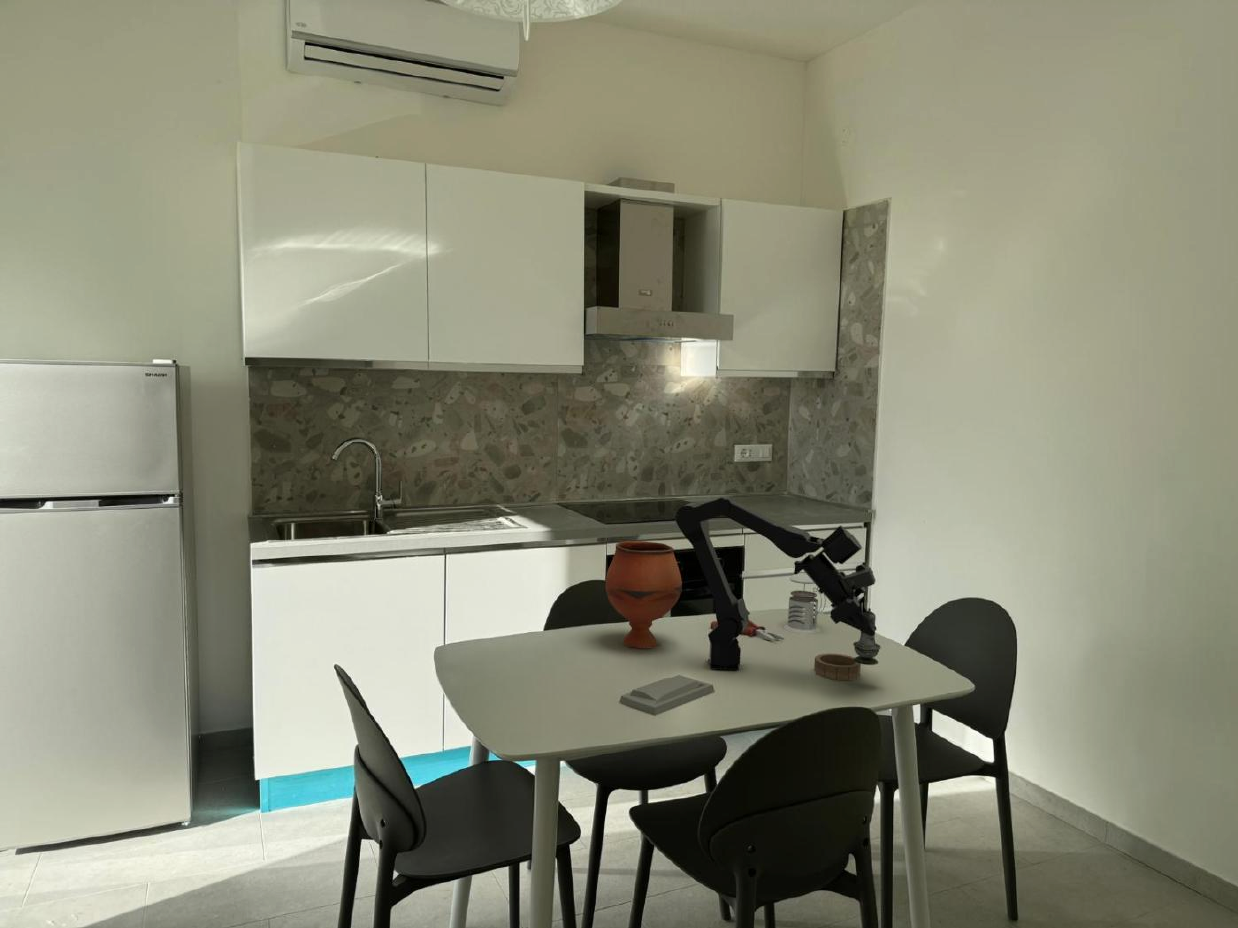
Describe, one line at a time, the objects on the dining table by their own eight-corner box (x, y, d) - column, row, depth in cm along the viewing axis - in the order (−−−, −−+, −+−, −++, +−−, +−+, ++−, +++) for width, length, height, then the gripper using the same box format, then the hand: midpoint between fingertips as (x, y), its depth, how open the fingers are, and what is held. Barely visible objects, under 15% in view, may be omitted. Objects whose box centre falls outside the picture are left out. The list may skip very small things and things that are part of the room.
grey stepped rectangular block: (715, 694, 191) (716, 678, 191) (656, 718, 176) (656, 701, 176) (677, 682, 198) (678, 667, 197) (617, 705, 183) (617, 688, 183)
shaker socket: (819, 679, 202) (820, 666, 202) (810, 665, 212) (811, 652, 212) (864, 680, 202) (865, 667, 202) (853, 666, 212) (853, 654, 212)
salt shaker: (846, 660, 197) (850, 606, 196) (860, 655, 202) (864, 602, 200) (870, 667, 193) (874, 612, 192) (884, 661, 197) (888, 608, 196)
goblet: (669, 659, 213) (674, 555, 211) (592, 649, 218) (596, 548, 216) (686, 637, 231) (690, 542, 229) (614, 629, 236) (618, 536, 234)
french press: (799, 621, 251) (804, 533, 249) (833, 631, 242) (838, 540, 240) (776, 627, 245) (780, 536, 243) (810, 637, 236) (815, 543, 234)
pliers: (766, 648, 226) (766, 637, 226) (708, 629, 242) (708, 620, 241) (794, 641, 234) (795, 631, 234) (736, 624, 249) (737, 614, 249)
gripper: (850, 561, 188) (901, 620, 185) (858, 547, 205) (905, 601, 203) (809, 594, 191) (859, 652, 189) (821, 577, 209) (867, 630, 206)
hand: (874, 632), depth 196 cm, fingers closed on salt shaker, 4 cm apart
